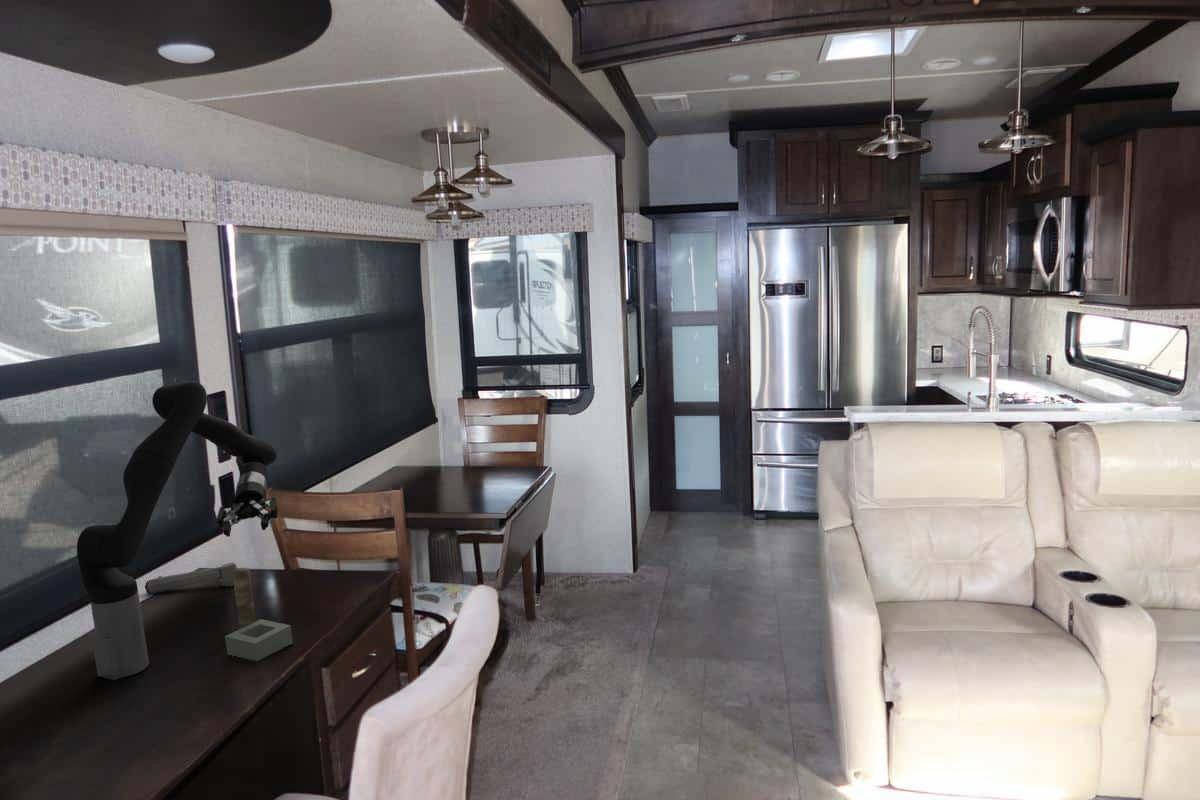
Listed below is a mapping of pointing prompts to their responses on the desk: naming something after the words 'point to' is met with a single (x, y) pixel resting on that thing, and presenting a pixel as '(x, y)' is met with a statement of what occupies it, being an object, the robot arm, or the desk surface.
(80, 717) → the desk surface
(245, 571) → the peg
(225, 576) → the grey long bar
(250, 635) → the socket
